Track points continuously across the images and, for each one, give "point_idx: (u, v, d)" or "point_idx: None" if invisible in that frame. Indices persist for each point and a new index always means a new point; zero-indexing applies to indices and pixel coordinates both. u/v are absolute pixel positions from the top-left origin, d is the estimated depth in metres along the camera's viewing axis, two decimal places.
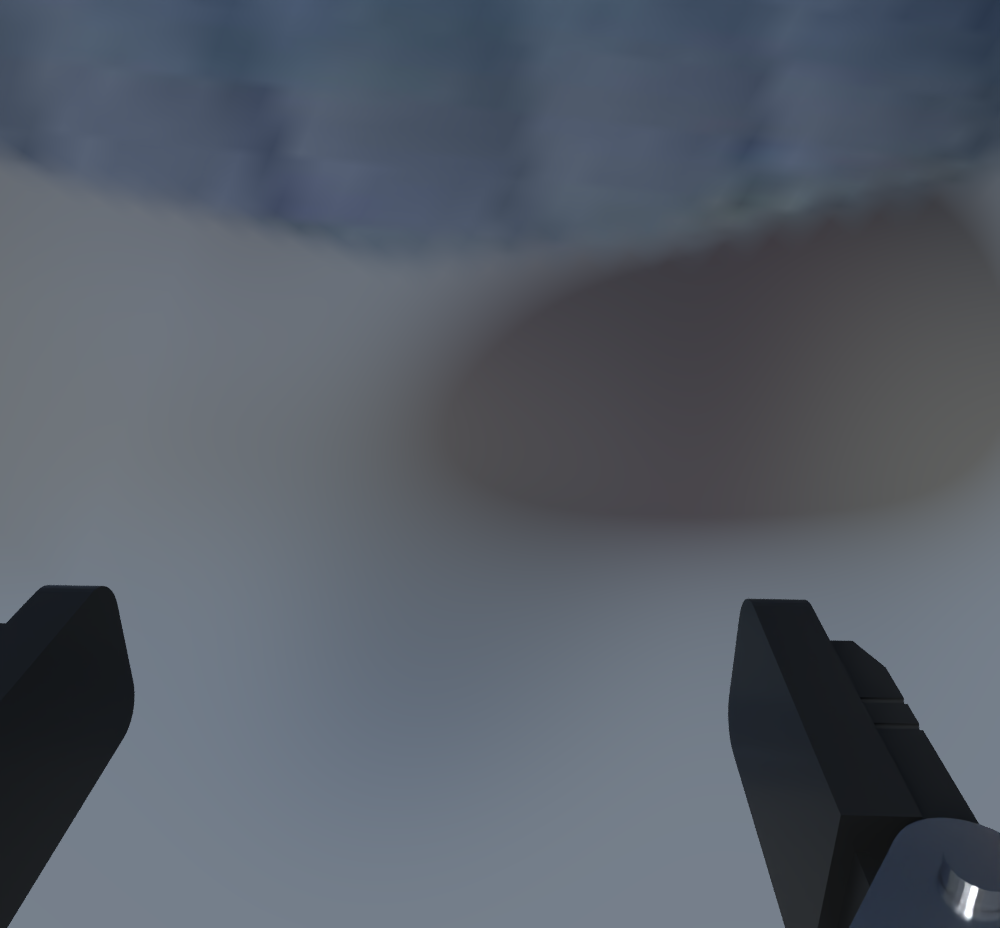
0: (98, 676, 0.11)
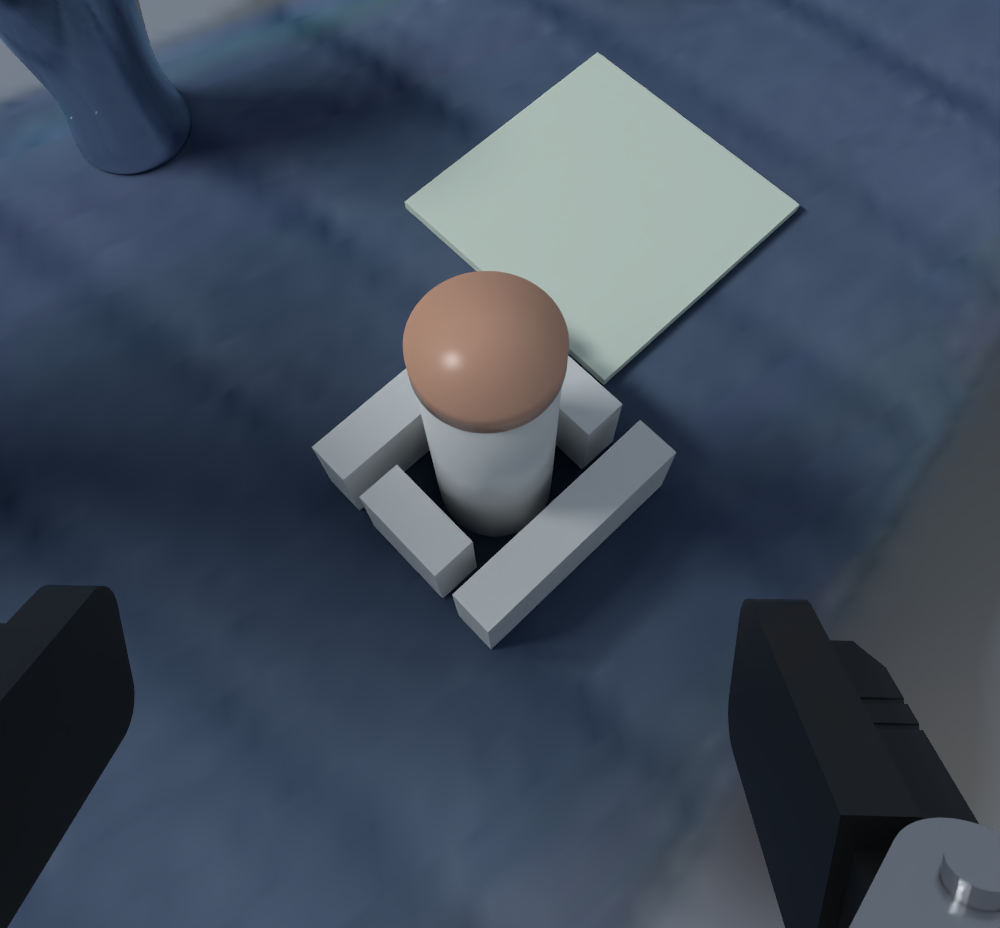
0: (98, 676, 0.11)
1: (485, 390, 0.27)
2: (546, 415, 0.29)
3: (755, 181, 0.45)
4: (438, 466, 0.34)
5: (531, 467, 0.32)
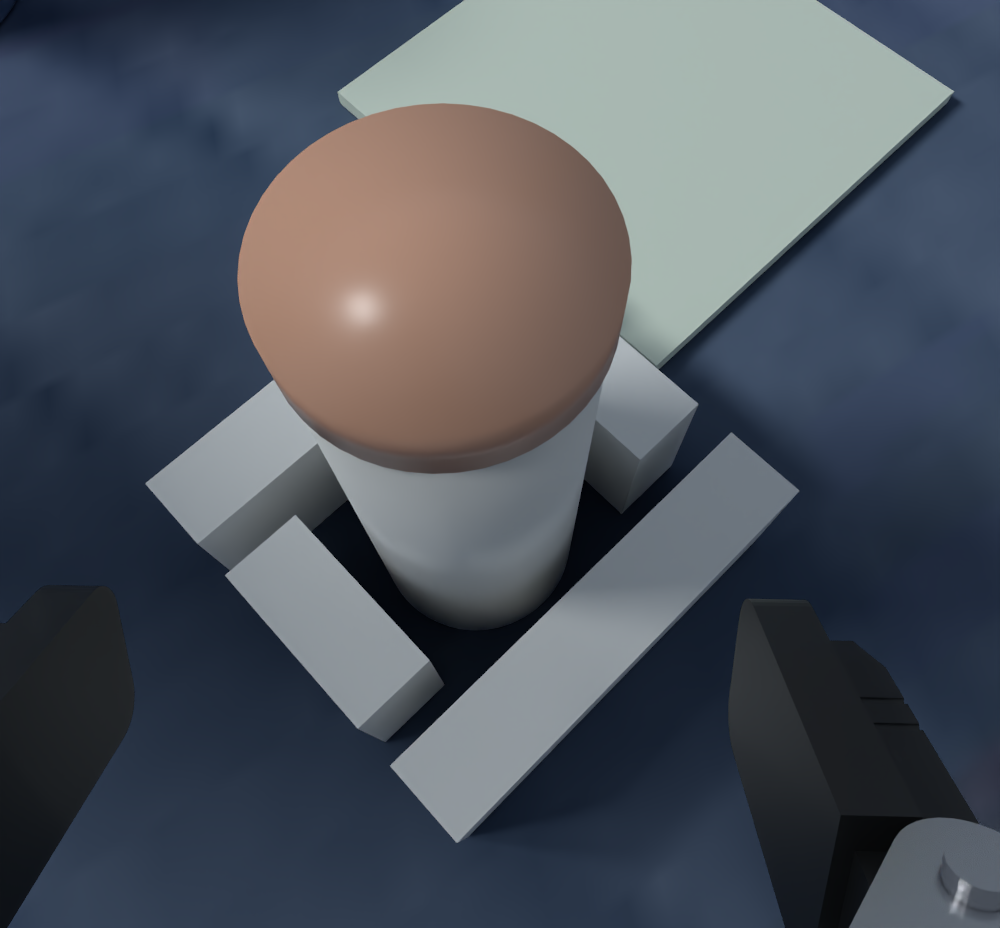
0: (98, 676, 0.11)
1: (431, 369, 0.11)
2: (574, 429, 0.13)
3: (881, 58, 0.29)
4: (362, 523, 0.18)
5: (539, 530, 0.16)
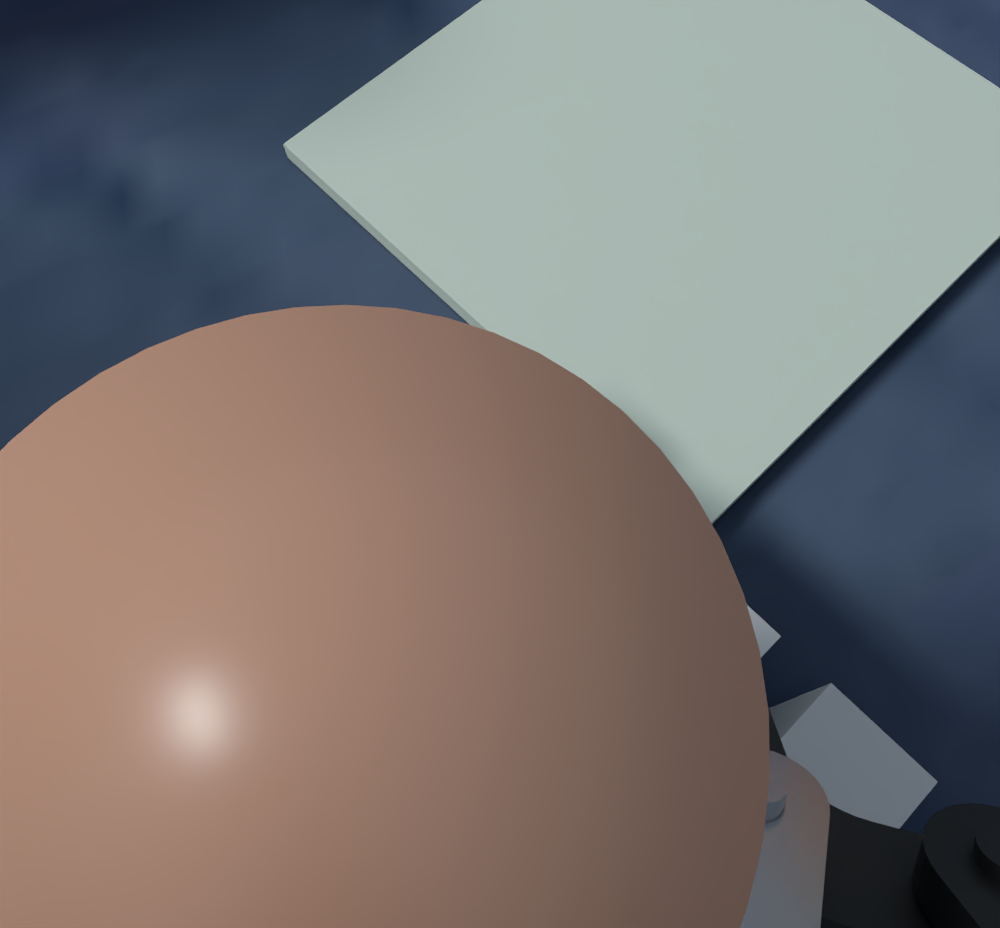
0: None
1: None
2: None
3: (992, 101, 0.22)
4: None
5: None
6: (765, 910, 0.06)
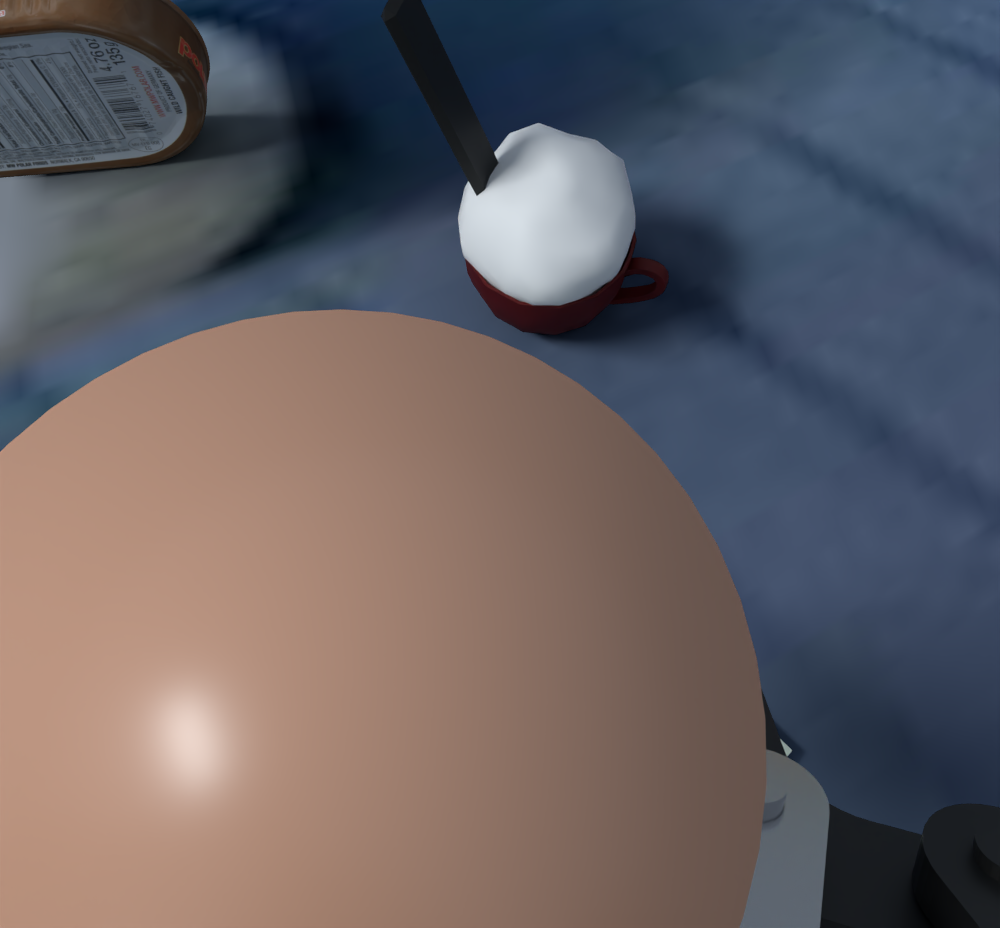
0: None
1: None
2: None
3: None
4: None
5: None
6: (765, 910, 0.06)
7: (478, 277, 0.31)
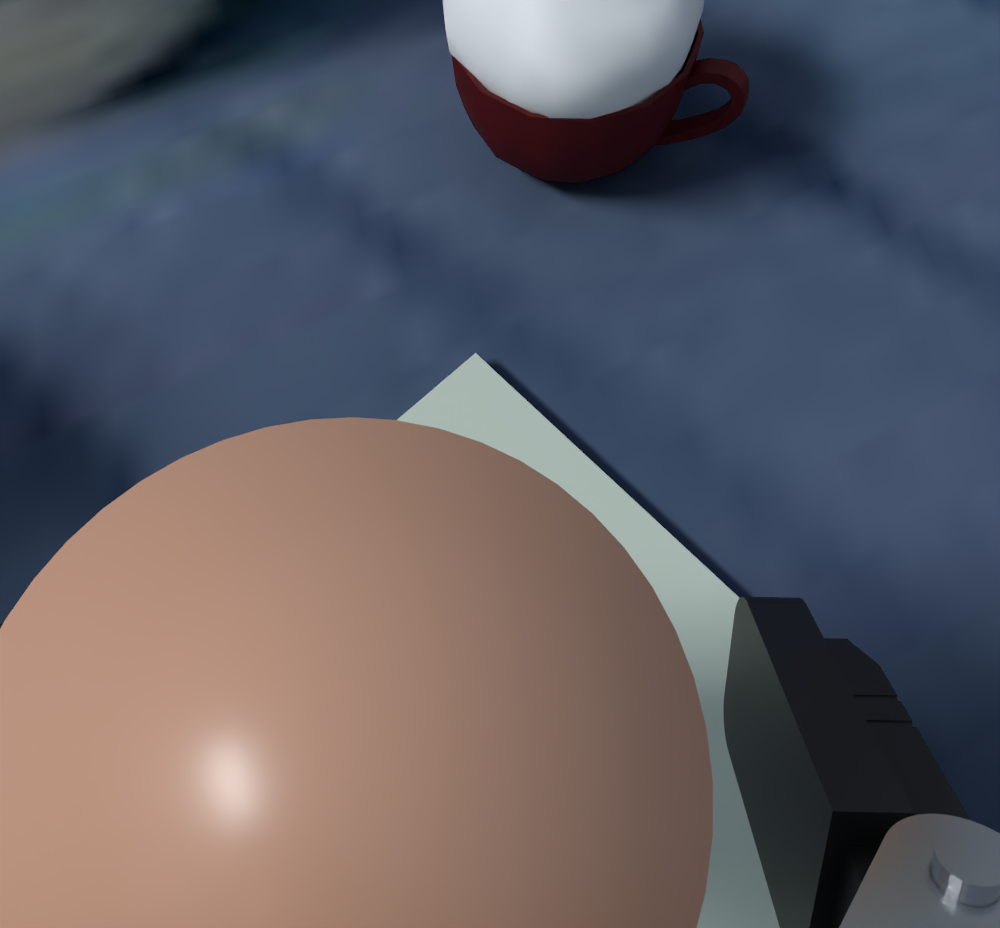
0: None
1: None
2: None
3: None
4: None
5: None
6: None
7: (470, 81, 0.21)
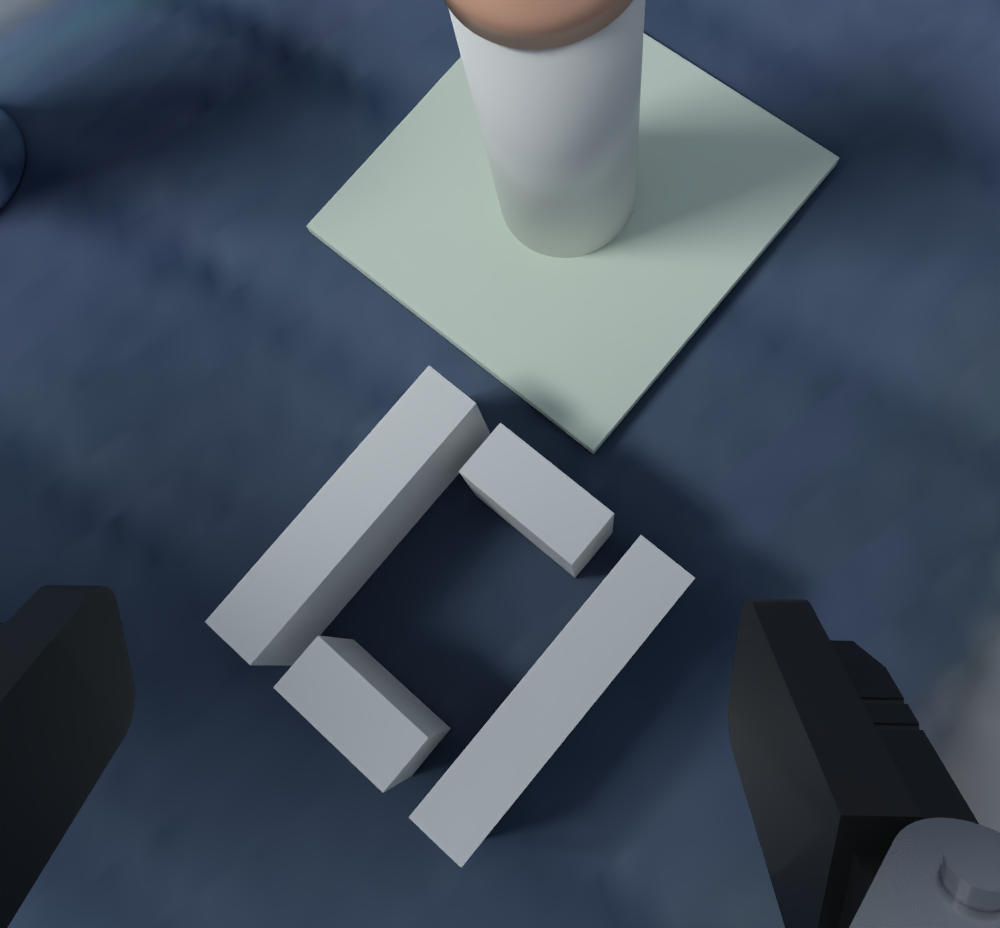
0: (98, 676, 0.11)
1: None
2: (632, 20, 0.22)
3: (774, 131, 0.32)
4: (497, 153, 0.27)
5: (615, 123, 0.25)
6: None
7: None
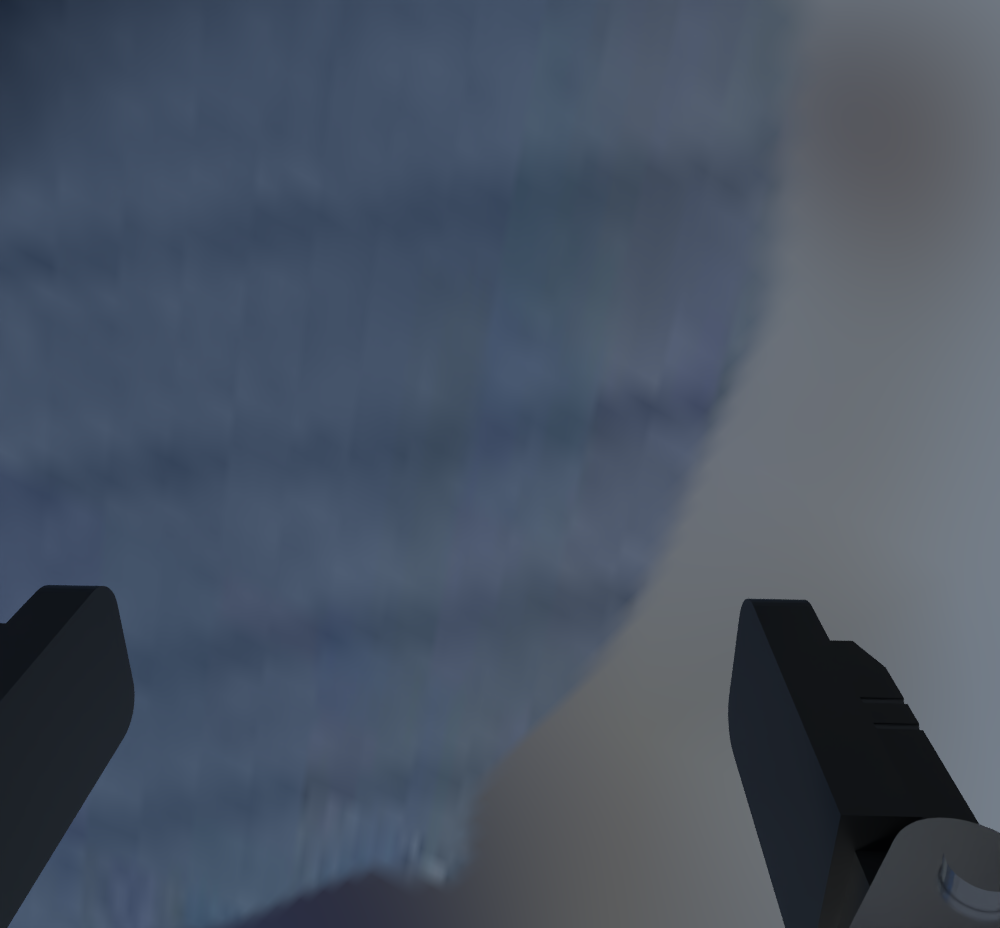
0: (98, 676, 0.11)
1: None
2: None
3: None
4: None
5: None
6: None
7: None
